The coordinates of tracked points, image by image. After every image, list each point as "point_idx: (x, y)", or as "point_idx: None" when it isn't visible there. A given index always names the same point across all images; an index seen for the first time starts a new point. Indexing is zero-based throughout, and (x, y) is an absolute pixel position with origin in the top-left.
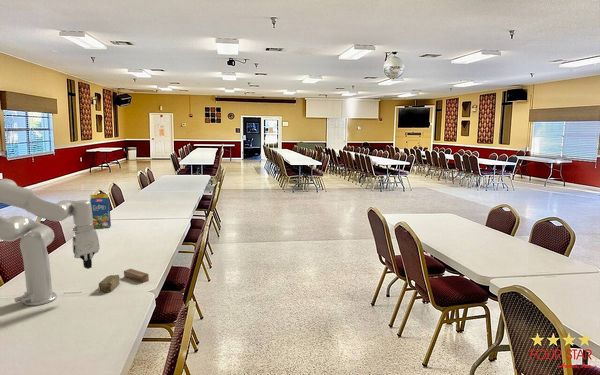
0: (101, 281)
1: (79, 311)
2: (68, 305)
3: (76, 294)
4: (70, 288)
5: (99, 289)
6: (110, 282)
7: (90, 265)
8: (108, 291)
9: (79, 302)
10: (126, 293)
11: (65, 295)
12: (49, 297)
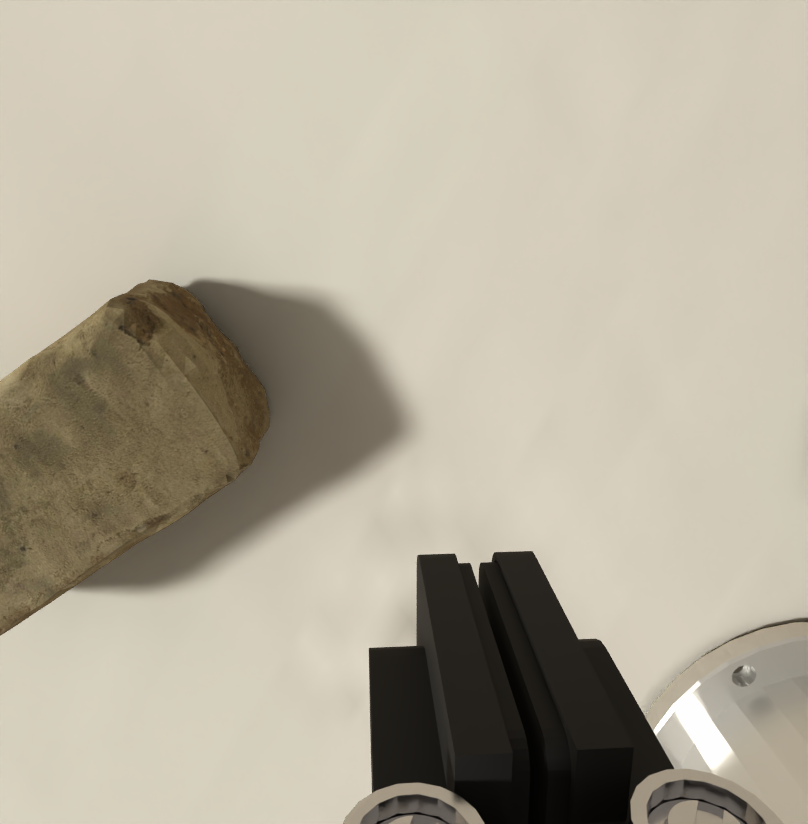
0: (176, 501)
1: (801, 35)
2: (740, 356)
3: None
4: None
5: (265, 424)
6: (101, 318)
7: (465, 589)
8: (194, 297)
9: (614, 327)
10: (29, 27)
11: None
12: (775, 689)
